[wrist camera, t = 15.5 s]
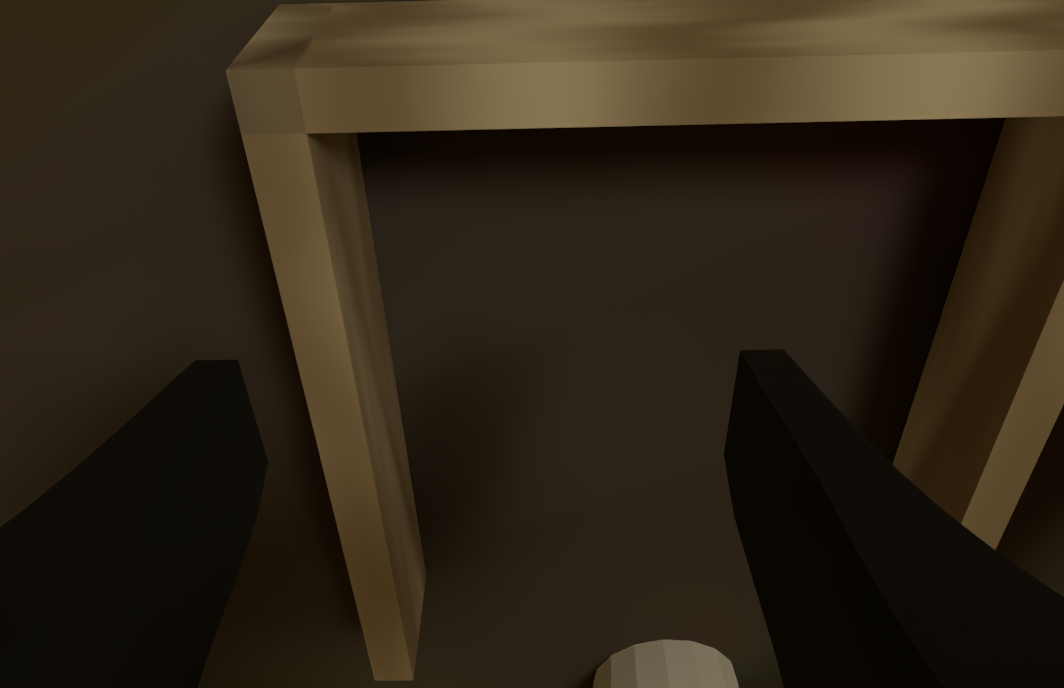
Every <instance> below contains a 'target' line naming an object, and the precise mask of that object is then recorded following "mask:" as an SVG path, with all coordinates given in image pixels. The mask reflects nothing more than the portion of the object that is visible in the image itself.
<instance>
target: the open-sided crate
mask: <svg viewBox="0 0 1064 688" xmlns="http://www.w3.org/2000/svg"><path fill="white" fill-rule="evenodd" d="M226 74H227V78H228V83H229V87H230V91H231V95H232V99H233V103H234V107H235V111H236V115H237V119H238V123H239V127H240V132H241V136H242V140H243V144H244V148H245V152H246V156H247V160H248V164H249V168H250V172H251V177H252V181H253V185H254V189H255V193H256V197H257V201H258V205H259V209H260V213H261V217H262V221H263V226H264V230H265V234H266V238H267V242H268V246H269V250H270V254H271V258H272V262H273V266H274V270H275V275H276V279H277V283H278V287H279V291H280V295H281V299H282V303H283V307H284V311H285V315H286V320H287V324H288V328H289V332H290V336H291V340H292V344H293V348H294V352H295V356H296V360H297V364H298V369H299V373H300V377H301V381H302V385H303V389H304V393H305V397H306V401H307V405H308V409H309V413H310V418H311V422H312V426H313V430H314V434H315V438H316V442H317V446H318V450H319V454H320V458H321V463H322V467H323V471H324V475H325V479H326V483H327V487H328V491H329V495H330V499H331V503H332V507H333V512H334V516H335V520H336V524H337V528H338V532H339V536H340V540H341V544H342V548H343V552H344V556H345V561H346V565H347V569H348V573H349V577H350V581H351V585H352V589H353V593H354V597H355V601H356V606H357V610H358V614H359V618H360V622H361V626H362V630H363V634H364V638H365V642H366V646H367V650H368V655H369V659H370V663H371V667H372V671H373V675H374V679H375V681H389V680H413V679H414V670H415V662H416V654H417V646H418V638H419V629H420V621H421V613H422V605H423V596H424V588H425V580H426V571H425V564H424V558H423V552H422V545H421V539H420V533H419V526H418V520H417V514H416V507H415V501H414V495H413V488H412V482H411V476H410V469H409V463H408V457H407V450H406V444H405V438H404V431H403V425H402V419H401V412H400V406H399V400H398V393H397V387H396V381H395V374H394V368H393V362H392V355H391V349H390V343H389V336H388V330H387V324H386V317H385V311H384V305H383V298H382V292H381V286H380V279H379V273H378V267H377V260H376V254H375V248H374V241H373V235H372V229H371V222H370V216H369V210H368V203H367V197H366V191H365V184H364V178H363V172H362V165H361V159H360V153H359V146H358V140H357V134H356V132H396V131H439V130H483V129H527V128H570V127H614V126H657V125H701V124H744V123H788V122H832V121H875V120H919V119H962V118H1006V119H1005V122H1004V125H1003V128H1002V131H1001V134H1000V137H999V140H998V143H997V146H996V149H995V152H994V155H993V158H992V161H991V165H990V168H989V171H988V174H987V177H986V180H985V183H984V186H983V189H982V192H981V195H980V198H979V201H978V204H977V207H976V210H975V213H974V217H973V220H972V223H971V226H970V229H969V232H968V235H967V238H966V241H965V244H964V247H963V250H962V253H961V256H960V259H959V262H958V266H957V269H956V272H955V275H954V278H953V281H952V284H951V287H950V290H949V293H948V296H947V299H946V302H945V305H944V308H943V311H942V315H941V318H940V321H939V324H938V327H937V330H936V333H935V336H934V339H933V342H932V345H931V348H930V351H929V354H928V357H927V360H926V364H925V367H924V370H923V373H922V376H921V379H920V382H919V385H918V388H917V391H916V394H915V397H914V400H913V403H912V406H911V409H910V413H909V416H908V419H907V422H906V425H905V428H904V431H903V434H902V437H901V440H900V443H899V446H898V449H897V452H896V455H895V458H894V462H893V466H895V467H896V468H897V469H898V470H899V471H900V472H901V473H902V474H903V475H904V476H905V477H907V478H908V479H909V480H910V481H911V482H912V483H913V484H914V485H915V486H917V487H918V488H919V489H920V490H921V491H922V492H923V493H924V494H925V495H927V496H928V497H929V498H930V499H931V500H932V501H933V502H935V503H936V504H937V505H938V506H939V507H941V508H942V509H943V510H944V511H946V512H947V513H948V514H949V515H950V516H952V517H953V518H954V519H955V520H957V521H958V522H959V523H961V524H962V525H963V526H964V527H966V528H967V529H968V530H970V531H971V532H972V533H973V534H975V535H976V536H977V537H979V538H980V539H981V540H982V541H984V542H985V543H986V544H988V545H989V546H990V547H991V548H993V549H994V550H995V549H996V547H997V545H998V543H999V541H1000V539H1001V537H1002V535H1003V532H1004V530H1005V528H1006V526H1007V524H1008V522H1009V520H1010V518H1011V515H1012V513H1013V511H1014V509H1015V507H1016V505H1017V503H1018V501H1019V498H1020V496H1021V494H1022V492H1023V490H1024V488H1025V486H1026V483H1027V481H1028V479H1029V477H1030V475H1031V473H1032V471H1033V469H1034V466H1035V464H1036V462H1037V460H1038V458H1039V456H1040V454H1041V452H1042V449H1043V447H1044V445H1045V443H1046V441H1047V439H1048V437H1049V435H1050V432H1051V430H1052V428H1053V426H1054V424H1055V422H1056V420H1057V417H1058V415H1059V413H1060V411H1061V409H1062V407H1063V405H1064V0H440V1H400V2H360V3H321V4H281V5H279V6H278V7H277V8H276V10H275V11H274V12H273V13H272V14H271V16H270V17H269V18H268V19H267V20H266V22H265V23H264V24H263V25H262V27H261V28H260V29H259V30H258V31H257V33H256V34H255V35H254V36H253V38H252V39H251V40H250V41H249V42H248V44H247V45H246V46H245V47H244V48H243V50H242V51H241V52H240V53H239V55H238V56H237V57H236V58H235V59H234V61H233V62H232V63H231V64H230V65H229V67H228V68H227V69H226Z"/></svg>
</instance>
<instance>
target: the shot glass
mask: <svg viewBox="0 0 1064 688" xmlns="http://www.w3.org/2000/svg"><path fill="white" fill-rule="evenodd" d="M593 688H739V686H738V682H737V679H736V676H735V673H734V669H733V666H732V663H731V661H730V660H729V659H728V658H726V657H725V656H724V655H723V654H721V653H720V652H719V651H718V650H716V649H715V648H712V647H709V646H705V645H702V644H699V643H696V642H693V641H682V640H657V641H652V642H646V643H640V644H635V645H632V646H630V647H628V648H626V649H624V650H621V651H619V652H617V653H615V654H613V655H611V656H610V657H609V658H608V659H607V660H606V661H605V662H604V663H603V664H602V665H601V666H600V667H599V668H598V669H597V670H596V675H595V679H594V683H593Z"/></svg>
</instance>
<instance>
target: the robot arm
mask: <svg viewBox="0 0 1064 688" xmlns="http://www.w3.org/2000/svg"><path fill="white" fill-rule="evenodd" d="M724 457H725V463H726V470H727V476H728V483H729V489H730V495H731V500H732V506H733V512H734V517H735V520H736V524H737V527H738V531H739V534H740V538H741V541H742V545H743V548H744V551H745V555H746V558H747V561H748V565H749V568H750V571H751V575H752V578H753V581H754V585H755V588H756V591H757V595H758V598H759V601H760V605H761V608H762V611H763V614H764V618H765V621H766V624H767V628H768V631H769V634H770V638H771V641H772V644H773V648H774V651H775V654H776V658H777V662H778V666H779V670H780V674H781V678H782V682H783V686H784V688H1064V597H1062V596H1061V595H1059V594H1058V593H1056V592H1055V591H1053V590H1052V589H1051V588H1049V587H1048V586H1046V585H1045V584H1043V583H1042V582H1040V581H1039V580H1037V579H1036V578H1034V577H1033V576H1031V575H1030V574H1028V573H1027V572H1025V571H1024V570H1022V569H1021V568H1019V567H1018V566H1016V565H1015V564H1014V563H1012V562H1011V561H1009V560H1008V559H1007V558H1005V557H1004V556H1002V555H1001V554H1000V553H998V552H997V551H996V550H994V549H993V548H991V547H990V546H989V545H988V544H986V543H985V542H984V541H982V540H981V539H980V538H979V537H977V536H976V535H975V534H973V533H972V532H971V531H970V530H968V529H967V528H966V527H964V526H963V525H962V524H961V523H959V522H958V521H957V520H955V519H954V518H953V517H952V516H950V515H949V514H948V513H947V512H946V511H944V510H943V509H942V508H941V507H939V506H938V505H937V504H936V503H935V502H933V501H932V500H931V499H930V498H929V497H928V496H927V495H925V494H924V493H923V492H922V491H921V490H920V489H919V488H918V487H917V486H915V485H914V484H913V483H912V482H911V481H910V480H909V479H908V478H907V477H905V476H904V475H903V474H902V473H901V472H900V471H899V470H898V469H897V468H896V467H895V466H893V465H892V464H891V463H890V462H889V461H888V460H887V459H886V458H885V457H884V456H883V455H882V454H881V453H880V452H879V451H878V450H877V449H876V448H875V447H874V446H873V445H872V444H871V443H870V442H869V441H868V440H867V439H866V438H865V437H864V436H863V435H862V434H861V433H860V432H859V431H858V430H857V429H856V428H855V427H854V426H853V425H852V424H851V423H850V421H849V420H848V419H847V418H846V417H845V416H844V415H843V414H842V413H841V412H840V411H839V410H838V409H837V408H836V407H835V405H834V404H833V403H832V402H831V401H830V400H829V399H828V398H827V397H826V396H825V395H824V393H823V392H822V391H821V390H820V389H819V388H818V387H817V386H816V385H815V384H814V382H813V381H812V380H811V379H810V378H809V377H808V376H807V375H806V374H805V372H804V371H803V370H802V369H801V368H800V367H799V366H798V365H797V364H796V362H795V361H794V360H793V359H792V358H791V357H790V356H789V355H788V354H787V353H786V352H785V351H784V350H783V349H782V350H740V355H739V361H738V368H737V374H736V380H735V387H734V393H733V400H732V406H731V412H730V419H729V425H728V432H727V438H726V444H725V451H724ZM267 464H268V460H267V457H266V453H265V450H264V447H263V443H262V440H261V437H260V433H259V430H258V427H257V423H256V420H255V416H254V413H253V410H252V406H251V403H250V400H249V396H248V393H247V390H246V386H245V383H244V380H243V376H242V373H241V369H240V366H239V363H238V360H198V361H195V362H193V363H192V364H191V365H190V366H189V367H188V368H186V369H185V370H184V371H183V372H182V373H181V374H180V375H178V376H177V377H176V378H175V379H174V380H173V381H172V382H171V383H170V384H168V385H167V386H166V387H165V388H164V389H163V390H162V391H161V392H160V393H159V394H158V395H157V396H155V397H154V398H153V399H152V400H151V401H150V402H149V403H148V404H147V405H146V406H145V407H144V408H142V409H141V410H140V411H139V412H138V413H137V414H136V415H135V416H134V417H133V418H132V419H130V420H129V421H128V422H127V423H126V424H125V425H124V426H123V427H122V428H120V429H119V430H118V431H117V432H116V433H115V434H114V435H113V436H112V437H110V438H109V439H108V440H107V441H106V442H105V443H104V444H103V445H101V446H100V447H99V448H98V449H97V450H96V451H95V452H94V453H93V454H91V455H90V456H89V457H88V458H87V459H85V460H84V461H83V462H82V463H81V464H79V465H78V466H77V467H76V468H75V469H73V470H72V471H71V472H70V473H68V474H67V475H66V476H65V477H64V478H62V479H61V480H60V481H59V482H58V483H56V484H55V485H54V486H53V487H51V488H50V489H49V490H48V491H47V492H45V493H44V494H43V495H42V496H41V497H39V498H38V499H37V500H36V501H34V502H33V503H32V504H31V505H30V506H28V507H27V508H26V509H24V510H23V511H22V512H20V513H19V514H18V515H17V516H15V517H14V518H13V519H11V520H10V521H8V522H7V523H6V524H4V525H3V526H2V527H0V688H197V687H198V684H199V681H200V678H201V675H202V671H203V668H204V665H205V662H206V659H207V656H208V654H209V651H210V648H211V645H212V643H213V640H214V637H215V634H216V632H217V629H218V626H219V623H220V621H221V618H222V615H223V612H224V609H225V607H226V604H227V601H228V599H229V596H230V593H231V590H232V588H233V585H234V582H235V579H236V577H237V574H238V571H239V568H240V565H241V562H242V560H243V557H244V554H245V551H246V548H247V546H248V543H249V540H250V537H251V534H252V531H253V528H254V525H255V521H256V517H257V513H258V508H259V504H260V499H261V495H262V490H263V485H264V479H265V474H266V469H267Z"/></svg>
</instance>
